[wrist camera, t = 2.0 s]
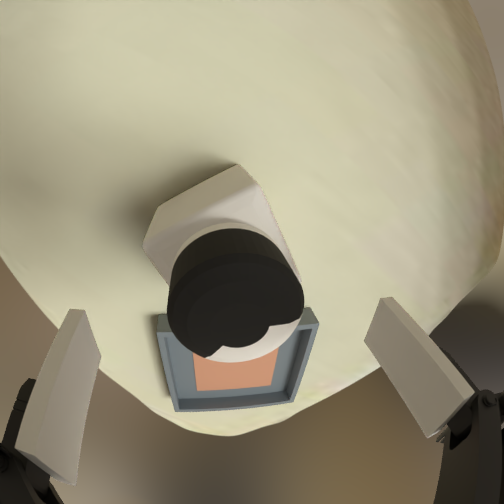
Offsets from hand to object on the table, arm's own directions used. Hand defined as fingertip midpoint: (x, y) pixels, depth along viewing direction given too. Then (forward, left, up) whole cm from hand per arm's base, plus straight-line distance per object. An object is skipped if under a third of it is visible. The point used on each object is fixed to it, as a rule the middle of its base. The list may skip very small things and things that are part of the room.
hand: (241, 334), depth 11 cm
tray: (+16, +2, -12) cm, 20 cm away
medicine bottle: (0, 0, -12) cm, 12 cm away
